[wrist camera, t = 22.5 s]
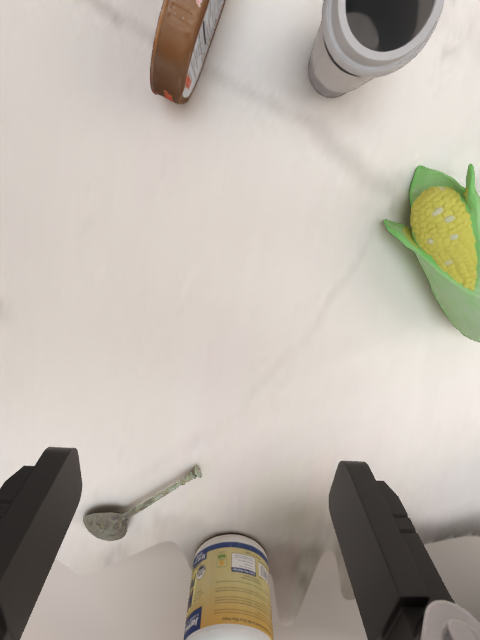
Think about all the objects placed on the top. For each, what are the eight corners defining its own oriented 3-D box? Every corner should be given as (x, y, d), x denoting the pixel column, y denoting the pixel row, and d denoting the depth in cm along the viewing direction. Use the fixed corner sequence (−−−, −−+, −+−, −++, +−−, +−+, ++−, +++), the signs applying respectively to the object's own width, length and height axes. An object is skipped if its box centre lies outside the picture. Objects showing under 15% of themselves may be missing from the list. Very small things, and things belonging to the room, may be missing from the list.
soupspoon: (77, 511, 52) (107, 533, 54) (66, 533, 49) (99, 555, 51) (185, 452, 46) (214, 479, 48) (181, 473, 43) (212, 500, 45)
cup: (360, 0, 28) (441, -123, 17) (384, 85, 30) (469, 28, 19) (282, 47, 29) (308, -38, 18) (311, 126, 31) (350, 94, 20)
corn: (463, 372, 36) (364, 223, 30) (465, 323, 41) (380, 188, 35) (567, 357, 30) (466, 167, 24) (554, 302, 35) (468, 135, 29)
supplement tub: (195, 528, 52) (175, 676, 36) (271, 532, 52) (284, 681, 37) (193, 577, 57) (175, 727, 41) (263, 580, 57) (272, 731, 41)
